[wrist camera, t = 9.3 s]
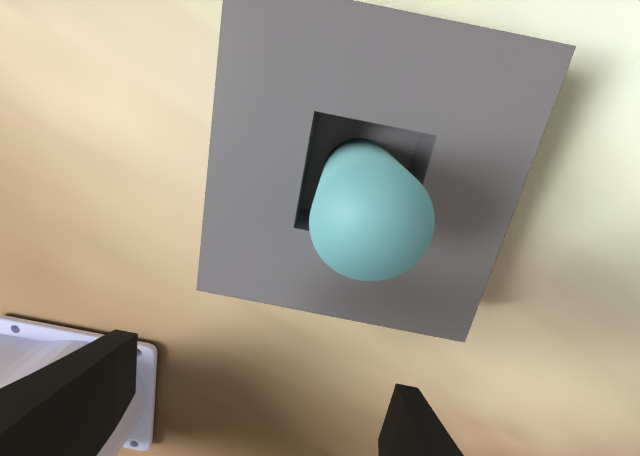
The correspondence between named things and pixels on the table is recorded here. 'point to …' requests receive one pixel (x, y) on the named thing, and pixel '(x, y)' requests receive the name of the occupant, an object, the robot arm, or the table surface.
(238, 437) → the table surface
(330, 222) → the pin
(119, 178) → the table surface
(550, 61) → the socket block
